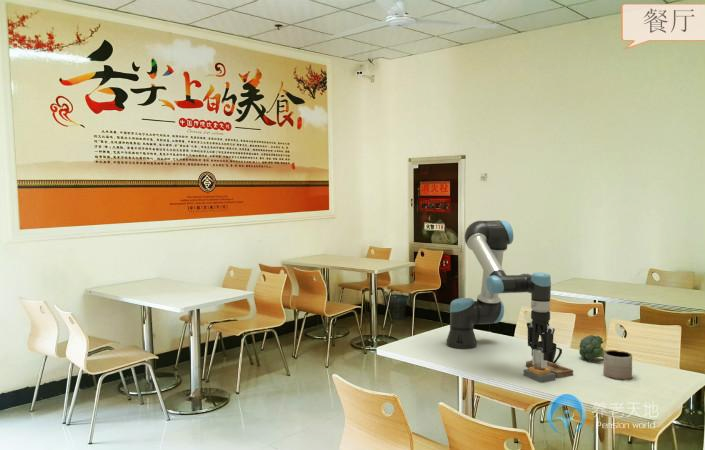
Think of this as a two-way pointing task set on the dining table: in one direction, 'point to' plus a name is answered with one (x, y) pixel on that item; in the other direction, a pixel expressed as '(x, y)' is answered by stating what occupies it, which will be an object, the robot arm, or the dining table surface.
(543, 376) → the frame
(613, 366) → the planter
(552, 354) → the mug
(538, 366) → the cell
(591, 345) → the vegetable
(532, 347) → the robot arm
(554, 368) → the wooden tray
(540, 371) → the orange square block
